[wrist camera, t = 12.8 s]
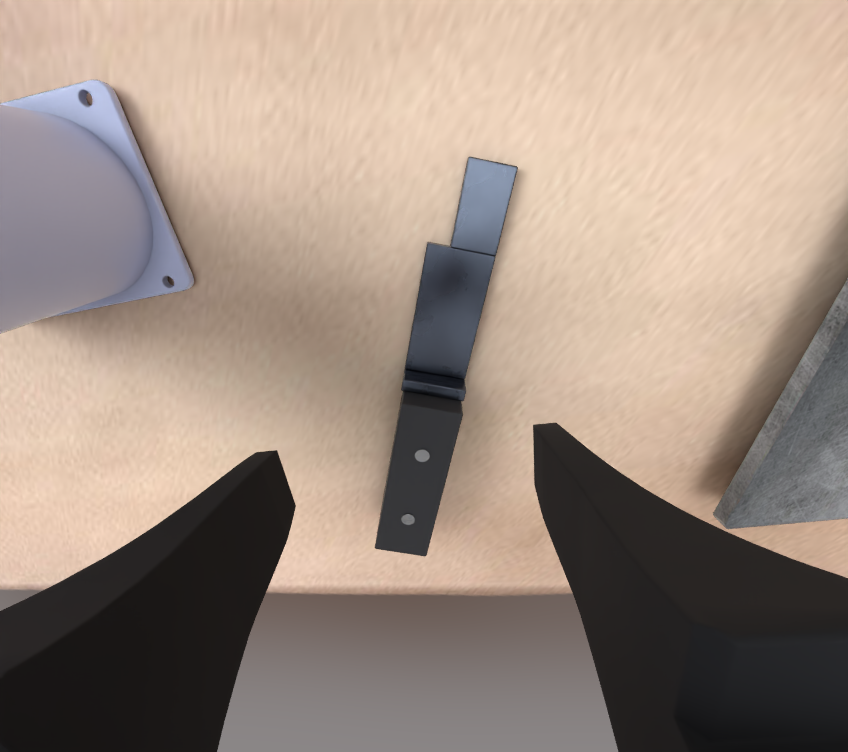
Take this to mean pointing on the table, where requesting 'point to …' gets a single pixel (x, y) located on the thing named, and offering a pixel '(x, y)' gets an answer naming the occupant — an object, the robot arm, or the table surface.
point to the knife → (442, 358)
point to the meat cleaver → (800, 441)
